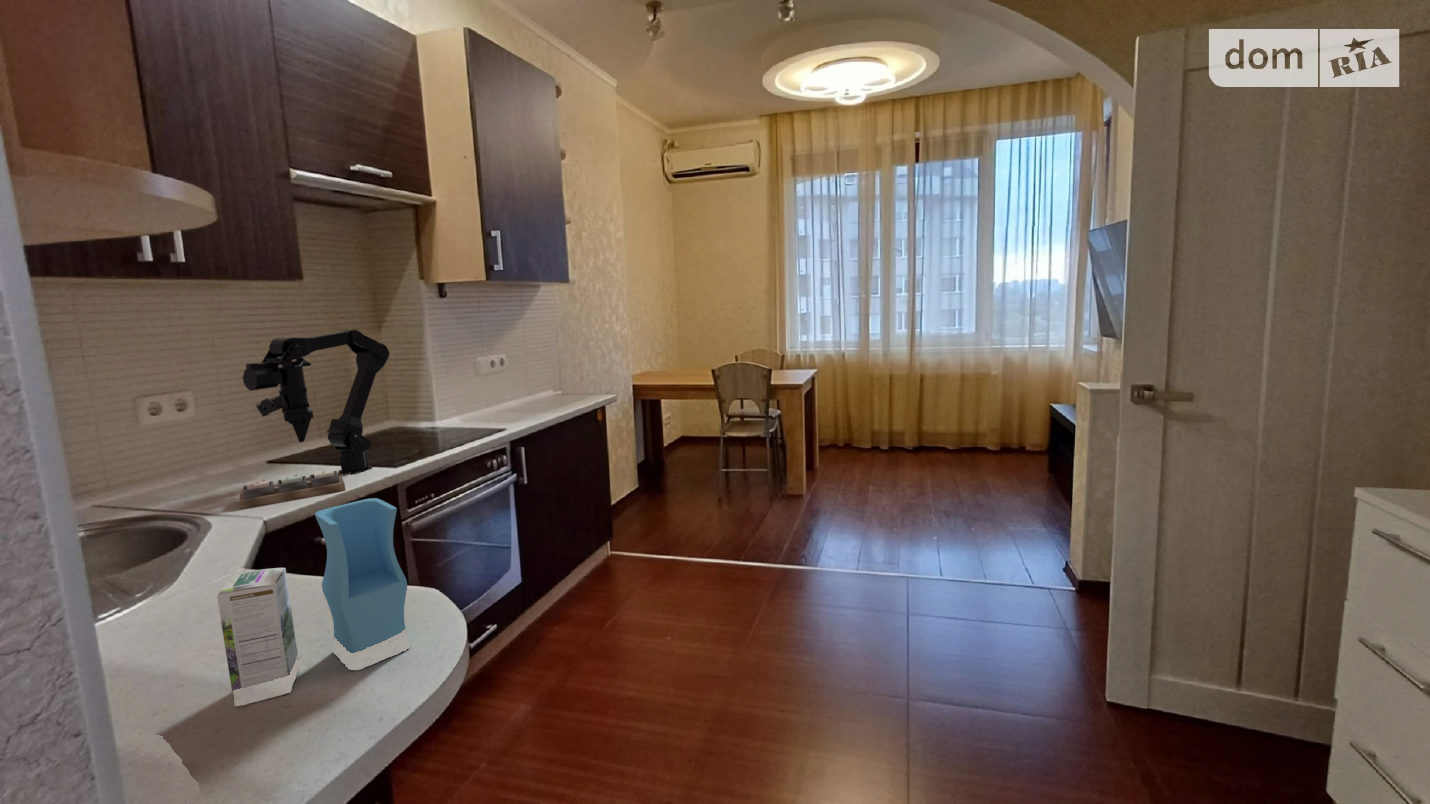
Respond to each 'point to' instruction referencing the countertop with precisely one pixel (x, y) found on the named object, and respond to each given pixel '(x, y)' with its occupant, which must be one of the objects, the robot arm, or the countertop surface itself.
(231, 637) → the syrup box
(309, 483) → the digit board
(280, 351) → the robot arm
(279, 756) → the countertop surface
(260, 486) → the tile three
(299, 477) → the tile two
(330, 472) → the tile one
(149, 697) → the countertop surface
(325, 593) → the blue tall chair-shaped block
